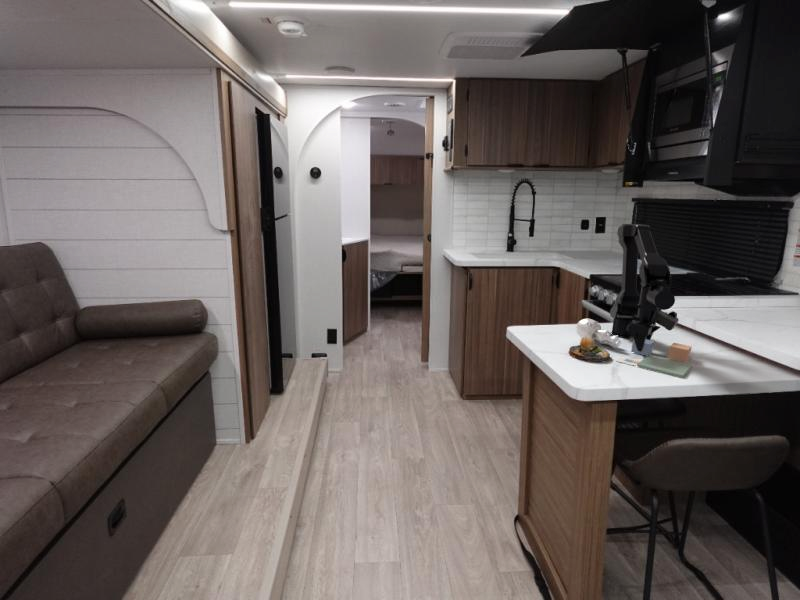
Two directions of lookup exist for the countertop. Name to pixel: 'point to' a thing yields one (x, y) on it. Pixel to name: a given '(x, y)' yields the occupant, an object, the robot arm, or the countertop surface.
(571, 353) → the food on plate
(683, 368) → the build plate
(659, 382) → the countertop surface
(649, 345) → the brick blue
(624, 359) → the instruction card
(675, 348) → the brick orange
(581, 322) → the figurine
